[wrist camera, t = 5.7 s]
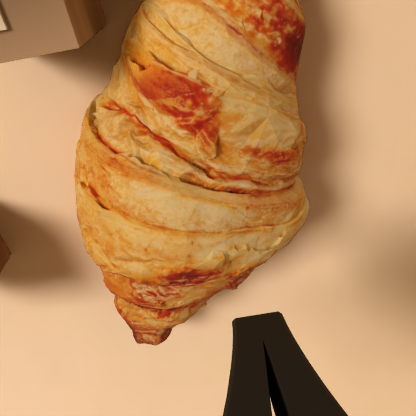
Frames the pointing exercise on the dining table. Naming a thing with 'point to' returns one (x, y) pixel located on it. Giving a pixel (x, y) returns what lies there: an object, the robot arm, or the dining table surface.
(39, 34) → the number block one
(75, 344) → the dining table surface
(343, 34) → the dining table surface
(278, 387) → the robot arm
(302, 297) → the dining table surface
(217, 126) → the croissant
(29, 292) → the dining table surface
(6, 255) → the number block seven
